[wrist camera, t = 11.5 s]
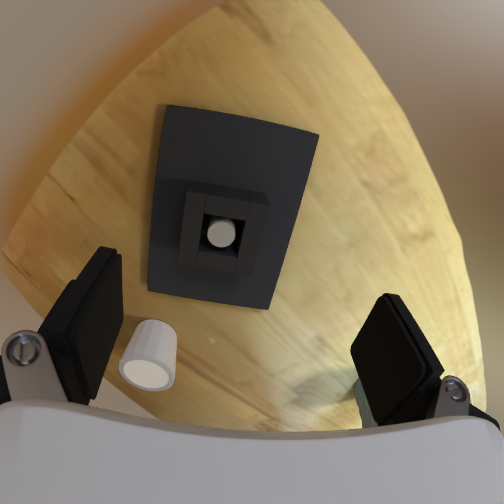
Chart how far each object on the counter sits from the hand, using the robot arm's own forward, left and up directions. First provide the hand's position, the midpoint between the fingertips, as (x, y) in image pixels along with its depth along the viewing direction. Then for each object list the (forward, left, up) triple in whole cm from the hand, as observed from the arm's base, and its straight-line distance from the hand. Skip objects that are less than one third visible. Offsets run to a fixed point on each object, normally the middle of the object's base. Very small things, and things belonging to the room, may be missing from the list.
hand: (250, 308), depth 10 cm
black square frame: (+5, -1, -19) cm, 20 cm away
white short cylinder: (+23, -7, -21) cm, 31 cm away
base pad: (+5, -1, -20) cm, 21 cm away
